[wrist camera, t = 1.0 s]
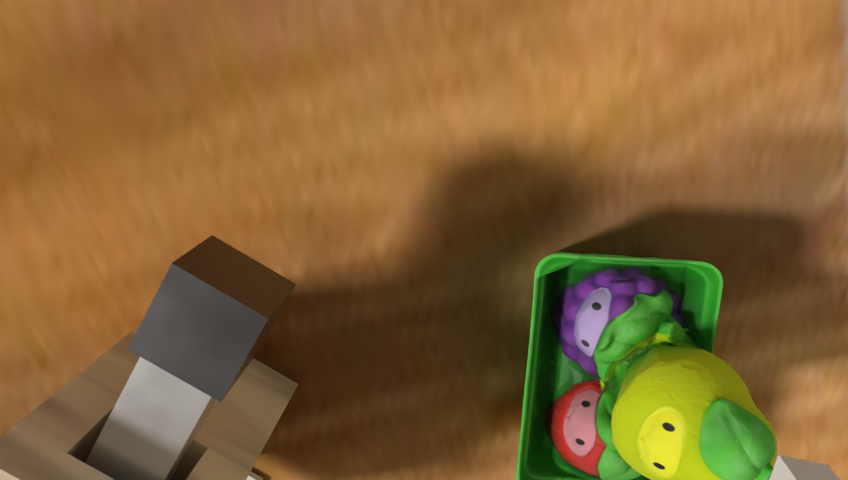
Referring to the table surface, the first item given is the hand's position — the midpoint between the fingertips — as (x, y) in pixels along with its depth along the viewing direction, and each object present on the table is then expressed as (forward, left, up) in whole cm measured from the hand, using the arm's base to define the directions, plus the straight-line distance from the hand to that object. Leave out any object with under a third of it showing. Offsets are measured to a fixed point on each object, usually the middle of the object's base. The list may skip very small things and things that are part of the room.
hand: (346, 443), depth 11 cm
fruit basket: (+11, -3, -24) cm, 27 cm away
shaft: (-5, -13, -15) cm, 21 cm away
